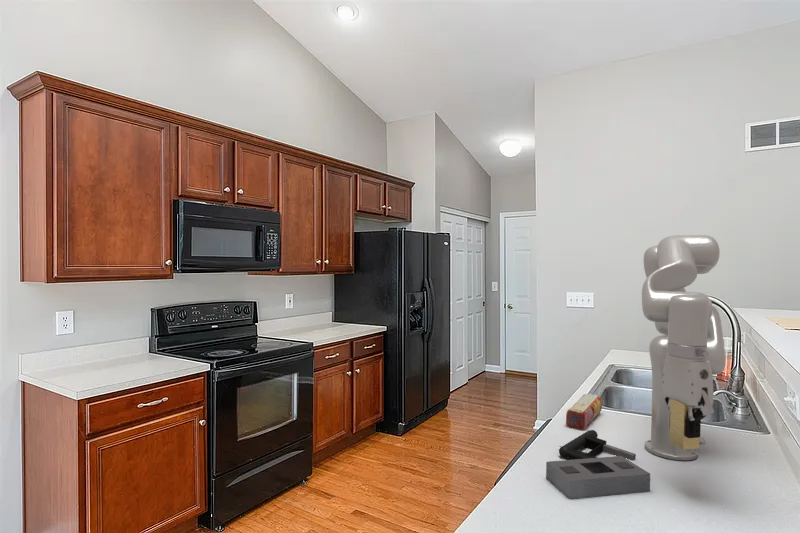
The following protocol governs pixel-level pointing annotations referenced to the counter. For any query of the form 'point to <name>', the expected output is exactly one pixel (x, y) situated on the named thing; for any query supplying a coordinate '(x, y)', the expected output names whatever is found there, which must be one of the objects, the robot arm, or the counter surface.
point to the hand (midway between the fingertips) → (684, 432)
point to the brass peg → (680, 426)
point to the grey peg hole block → (597, 477)
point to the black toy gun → (591, 447)
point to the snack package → (583, 411)
